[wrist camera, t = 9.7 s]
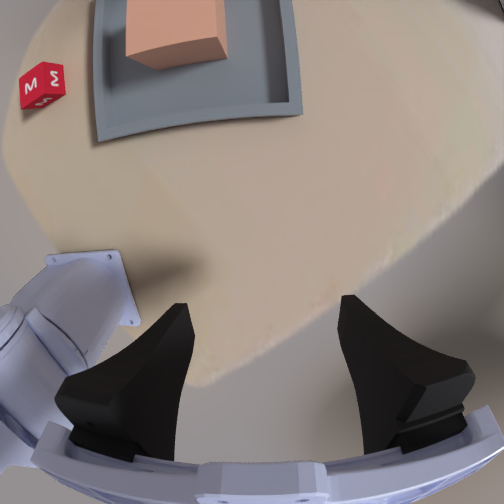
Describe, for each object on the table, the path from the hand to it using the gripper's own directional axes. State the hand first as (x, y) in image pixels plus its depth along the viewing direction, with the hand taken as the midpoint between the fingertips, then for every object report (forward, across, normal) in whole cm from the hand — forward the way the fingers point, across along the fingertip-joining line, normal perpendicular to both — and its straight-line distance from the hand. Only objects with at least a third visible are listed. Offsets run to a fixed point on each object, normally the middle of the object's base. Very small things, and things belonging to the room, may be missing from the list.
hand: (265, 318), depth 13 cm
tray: (+9, +4, -16) cm, 19 cm away
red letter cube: (+10, +17, -16) cm, 25 cm away
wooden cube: (+9, +4, -16) cm, 19 cm away
